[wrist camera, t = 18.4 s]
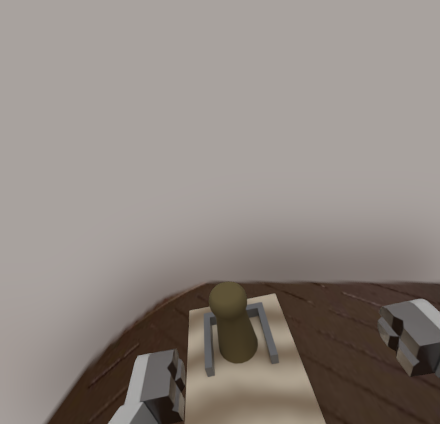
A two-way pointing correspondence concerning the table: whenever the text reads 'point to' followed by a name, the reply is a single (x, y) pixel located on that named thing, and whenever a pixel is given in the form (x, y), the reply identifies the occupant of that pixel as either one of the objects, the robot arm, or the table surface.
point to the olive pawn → (233, 322)
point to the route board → (249, 378)
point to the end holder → (252, 311)
